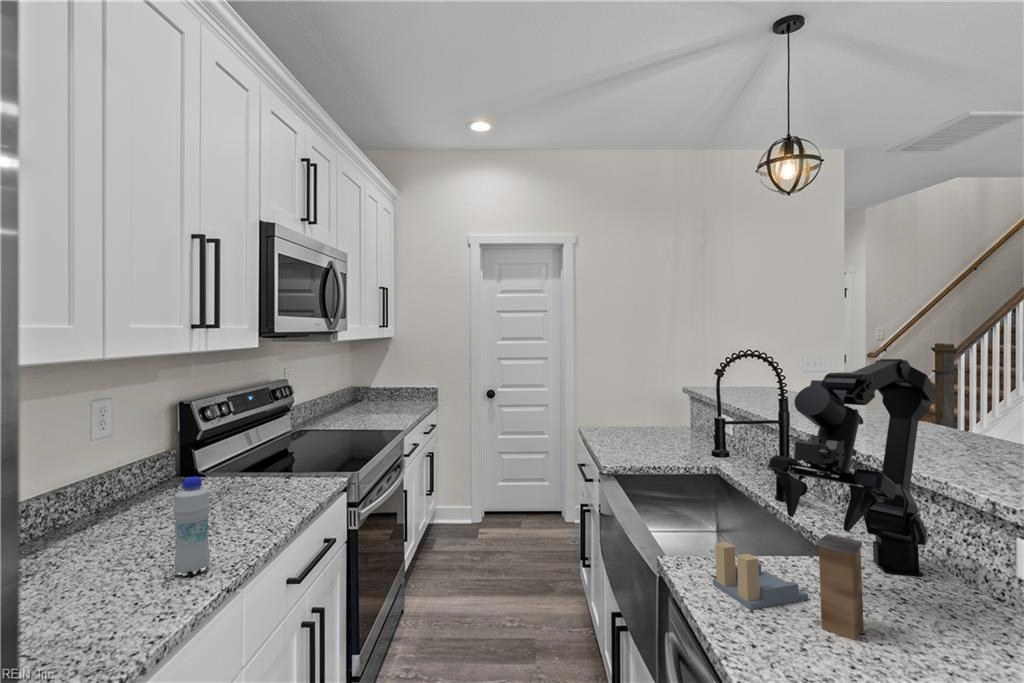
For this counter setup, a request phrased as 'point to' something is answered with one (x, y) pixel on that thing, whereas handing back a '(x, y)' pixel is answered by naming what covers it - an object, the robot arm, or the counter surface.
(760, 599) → the base with wooden posts
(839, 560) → the rail end
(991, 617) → the counter surface
